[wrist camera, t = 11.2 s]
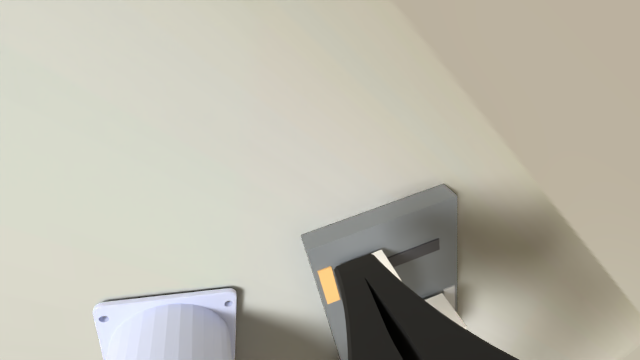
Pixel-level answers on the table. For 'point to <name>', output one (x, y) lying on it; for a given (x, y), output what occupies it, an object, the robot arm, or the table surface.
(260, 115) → the table surface
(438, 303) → the tab
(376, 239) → the switch panel
